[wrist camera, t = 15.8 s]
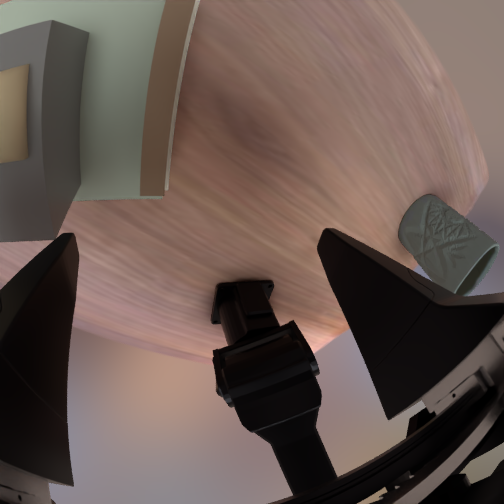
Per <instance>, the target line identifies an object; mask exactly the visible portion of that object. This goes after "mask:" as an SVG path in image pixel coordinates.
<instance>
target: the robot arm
mask: <svg viewBox="0 0 504 504" xmlns="http://www.w3.org/2000/svg"><path fill="white" fill-rule="evenodd" d="M317 251H318V254H319V257H320V259H321V262H322V265H323V267H324V270H325V273H326V276H327V278H328V281H329V283H330V286H331V288H332V290H333V292H334V294H335V296H336V298H337V300H338V303H339V305H340V307H341V309H342V311H343V313H344V316H345V318H346V320H347V322H348V325H349V327H350V329H351V331H352V333H353V336H354V338H355V340H356V343H357V345H358V347H359V349H360V352H361V354H362V356H363V359H364V361H365V364H366V366H367V368H368V371H369V373H370V376H371V378H372V381H373V384H374V386H375V388H376V391H377V394H378V396H379V399H380V402H381V404H382V407H383V409H384V412H385V415H386V417H387V419H388V420H390V419H392V418H394V417H395V416H397V415H399V414H400V413H402V412H404V411H405V410H407V409H408V408H410V407H412V406H413V405H415V404H416V403H418V402H419V401H421V400H422V401H423V402H424V404H425V406H426V408H424V409H423V410H421V411H420V412H418V413H417V414H416V415H414V416H413V417H411V418H410V419H409V425H408V430H407V436H406V439H404V440H403V441H401V442H400V443H398V444H397V445H395V446H393V447H392V448H390V449H389V450H387V451H386V452H384V453H382V454H380V455H379V456H377V457H375V458H374V459H372V460H370V461H368V462H367V463H365V464H363V465H361V466H359V467H357V468H355V469H353V470H351V471H349V472H348V473H346V474H343V475H341V476H339V477H337V475H336V473H335V470H334V468H333V466H332V464H331V461H330V459H329V457H328V454H327V452H326V450H325V447H324V445H323V443H322V441H321V438H320V436H319V434H318V431H317V429H316V422H317V417H318V411H319V407H320V406H321V398H322V394H321V389H320V387H319V384H318V382H317V379H316V377H315V376H316V375H319V374H320V372H319V368H318V364H317V361H316V359H315V356H314V354H313V352H312V350H311V348H310V346H309V344H308V343H307V341H306V339H305V338H304V336H303V335H302V333H301V331H300V330H299V328H298V326H297V325H296V323H295V322H294V320H292V321H290V322H289V323H287V324H285V325H282V326H280V325H279V323H278V320H277V318H276V316H275V314H274V312H273V308H272V306H271V304H270V302H269V298H270V296H271V293H272V290H273V288H274V283H273V281H255V282H240V283H224V284H219V285H217V287H216V292H215V298H214V304H213V310H212V315H211V323H212V324H222V327H223V331H224V334H225V337H226V341H227V344H228V346H227V347H224V348H221V349H215V350H213V356H214V357H213V360H212V361H213V364H214V369H215V375H216V392H217V394H218V395H219V396H221V397H223V398H224V400H225V401H226V403H227V404H228V406H229V407H235V410H236V412H237V415H238V417H239V419H240V421H241V423H242V425H243V426H244V427H245V428H246V429H247V430H249V431H250V432H252V433H253V432H254V433H256V434H257V435H258V436H260V437H261V438H263V439H264V440H265V441H267V442H268V443H270V444H271V446H272V448H273V451H274V453H275V456H276V458H277V460H278V462H279V464H280V467H281V469H282V471H283V474H284V476H285V478H286V480H287V483H288V485H289V487H290V489H291V491H292V493H293V496H290V497H288V498H284V499H282V500H278V501H275V502H272V503H268V504H357V503H359V502H361V501H362V500H364V499H366V498H368V497H369V496H371V495H373V494H374V493H376V492H378V491H379V490H381V489H382V488H384V487H386V490H387V493H385V494H382V495H381V496H379V498H380V500H378V501H375V502H373V503H370V504H504V460H502V461H501V462H500V463H499V464H498V466H497V468H496V469H495V470H494V472H493V473H492V474H491V476H489V477H487V478H484V479H482V480H480V481H478V482H475V483H473V484H470V482H469V479H468V478H467V476H466V474H459V473H460V472H461V471H462V470H463V469H464V468H465V466H466V465H467V464H468V463H469V462H470V461H471V460H473V459H475V458H477V457H479V456H481V455H483V454H484V453H486V452H488V451H490V450H492V449H493V448H495V447H497V446H498V445H500V444H502V443H503V442H504V292H502V293H495V294H486V295H477V296H460V295H457V294H455V293H453V292H451V291H449V290H447V289H445V288H444V287H442V286H440V285H438V284H436V283H434V282H432V281H431V280H429V279H427V278H425V277H423V276H421V275H420V274H418V273H416V272H414V271H413V270H411V269H409V268H407V267H405V266H404V265H402V264H400V263H398V262H397V261H395V260H393V259H391V258H389V257H388V256H386V255H384V254H382V253H380V252H379V251H377V250H375V249H373V248H371V247H369V246H367V245H365V244H364V243H362V242H360V241H358V240H356V239H354V238H352V237H350V236H348V235H346V234H344V233H342V232H341V231H339V230H337V229H334V228H325V229H324V230H323V232H322V234H321V237H320V240H319V242H318V245H317ZM78 267H79V252H78V247H77V242H76V237H75V235H74V233H63V234H61V235H60V236H59V237H58V238H56V239H55V240H54V241H53V242H52V243H50V244H49V245H48V246H47V247H46V248H44V249H43V250H42V251H41V252H40V253H39V254H38V255H36V256H35V257H34V258H33V259H32V260H31V261H30V262H29V263H28V264H26V265H25V266H24V267H23V268H22V269H21V270H20V271H19V272H18V273H17V274H16V275H15V276H14V277H13V278H12V279H11V280H10V281H9V282H8V283H7V284H6V285H5V286H4V287H3V288H2V289H1V290H0V504H56V503H55V502H54V501H53V500H52V499H51V498H50V491H49V484H48V482H49V483H54V484H60V485H66V486H74V482H73V475H72V468H71V461H70V451H69V439H68V423H67V380H68V361H69V348H70V339H71V329H72V322H73V315H74V309H75V302H76V291H77V278H78ZM221 288H222V289H221Z"/></svg>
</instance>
